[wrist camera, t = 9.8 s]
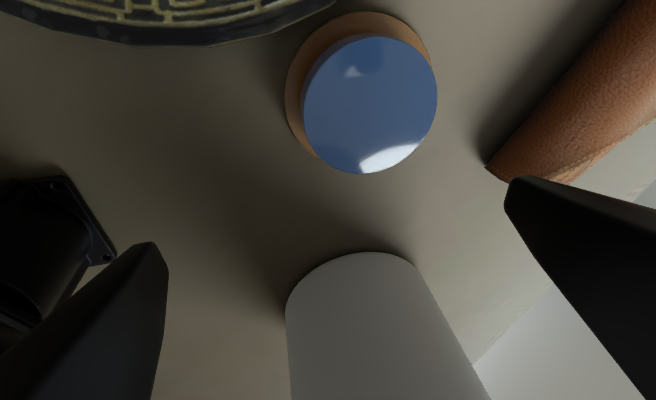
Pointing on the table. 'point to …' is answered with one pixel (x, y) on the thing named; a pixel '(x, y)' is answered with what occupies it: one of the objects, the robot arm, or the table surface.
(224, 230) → the table surface
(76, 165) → the table surface
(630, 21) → the sunglasses case
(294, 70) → the coaster
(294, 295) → the cylinder vase
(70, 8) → the decorative plate
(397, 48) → the flat blue disc
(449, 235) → the table surface
